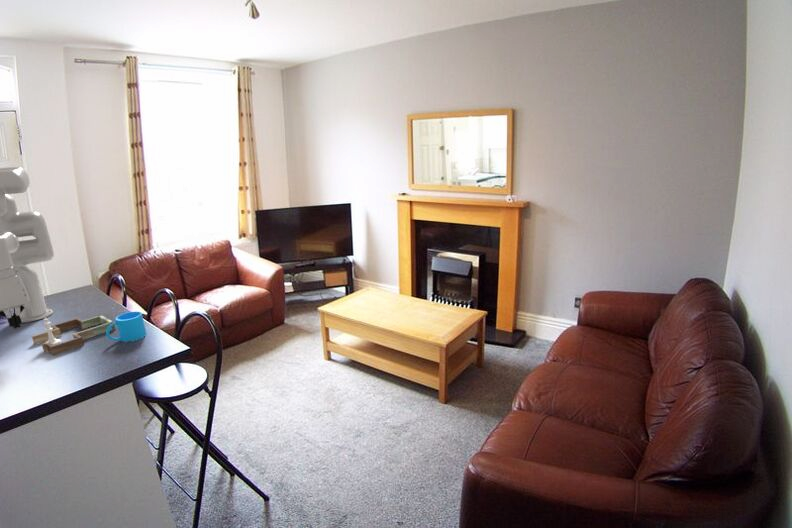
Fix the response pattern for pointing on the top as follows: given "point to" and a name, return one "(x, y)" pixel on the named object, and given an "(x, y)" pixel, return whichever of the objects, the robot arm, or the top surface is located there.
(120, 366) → the top surface
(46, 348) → the box
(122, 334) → the mug
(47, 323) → the chess piece
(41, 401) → the top surface
